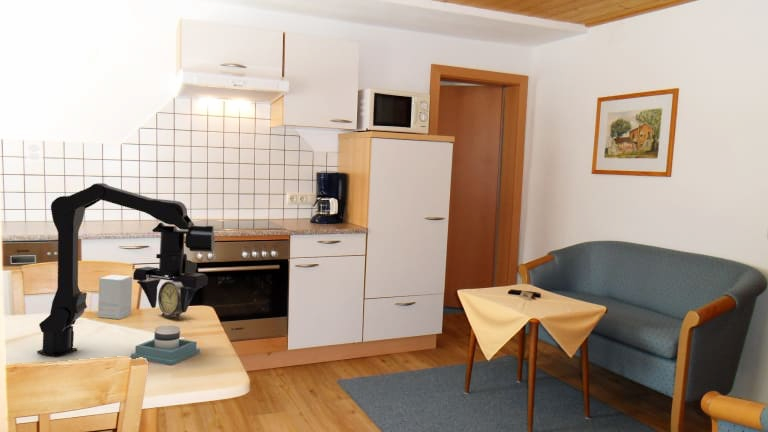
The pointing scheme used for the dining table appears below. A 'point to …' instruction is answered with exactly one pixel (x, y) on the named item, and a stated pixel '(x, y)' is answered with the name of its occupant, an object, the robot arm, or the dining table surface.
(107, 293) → the supplement box
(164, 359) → the square tray
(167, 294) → the alarm clock
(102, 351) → the dining table surface
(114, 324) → the dining table surface
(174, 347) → the lens
